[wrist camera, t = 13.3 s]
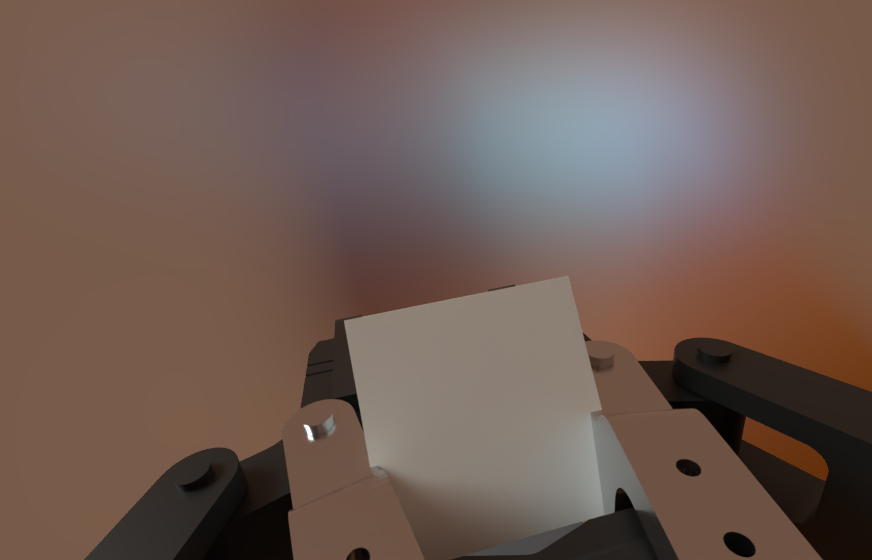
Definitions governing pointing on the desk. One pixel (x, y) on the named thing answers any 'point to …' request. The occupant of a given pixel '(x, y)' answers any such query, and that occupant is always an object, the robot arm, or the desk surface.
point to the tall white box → (481, 415)
